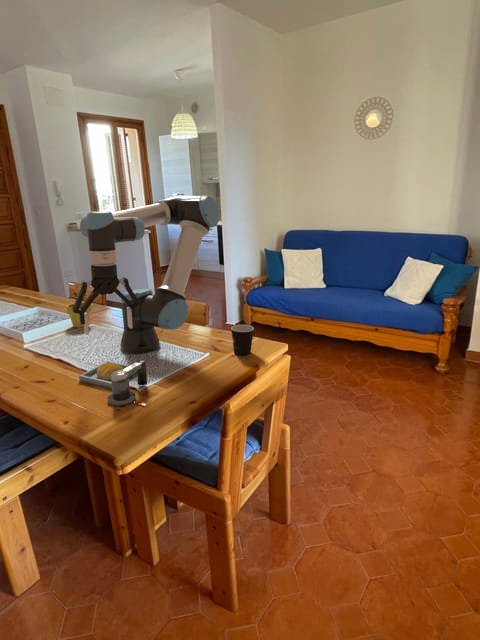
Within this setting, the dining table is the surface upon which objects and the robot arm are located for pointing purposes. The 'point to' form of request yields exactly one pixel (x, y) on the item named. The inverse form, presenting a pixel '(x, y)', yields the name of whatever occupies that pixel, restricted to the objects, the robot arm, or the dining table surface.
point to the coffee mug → (242, 339)
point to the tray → (92, 378)
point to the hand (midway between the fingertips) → (109, 330)
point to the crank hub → (122, 395)
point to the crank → (124, 374)
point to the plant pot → (77, 315)
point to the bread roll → (107, 370)
